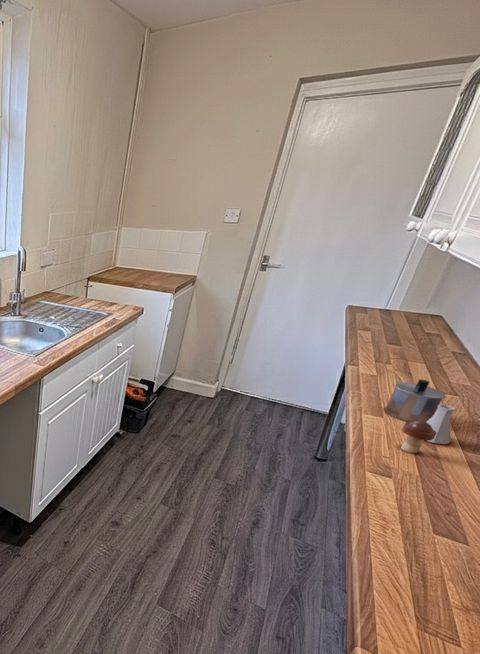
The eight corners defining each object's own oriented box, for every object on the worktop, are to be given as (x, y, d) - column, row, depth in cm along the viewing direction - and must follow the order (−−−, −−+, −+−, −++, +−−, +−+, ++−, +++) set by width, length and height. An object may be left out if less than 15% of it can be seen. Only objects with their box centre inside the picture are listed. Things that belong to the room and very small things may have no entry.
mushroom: (421, 448, 112) (436, 420, 108) (427, 459, 107) (443, 430, 104) (391, 441, 115) (405, 414, 112) (396, 451, 111) (410, 423, 107)
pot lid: (438, 391, 127) (444, 379, 125) (449, 404, 119) (455, 391, 117) (390, 382, 132) (396, 371, 131) (397, 394, 124) (403, 382, 123)
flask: (405, 431, 120) (420, 401, 116) (427, 430, 120) (443, 400, 116) (434, 445, 113) (451, 414, 109) (456, 444, 114) (474, 412, 110)
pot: (425, 413, 130) (437, 389, 126) (434, 427, 122) (447, 401, 119) (382, 405, 135) (393, 381, 132) (388, 417, 128) (400, 393, 124)
